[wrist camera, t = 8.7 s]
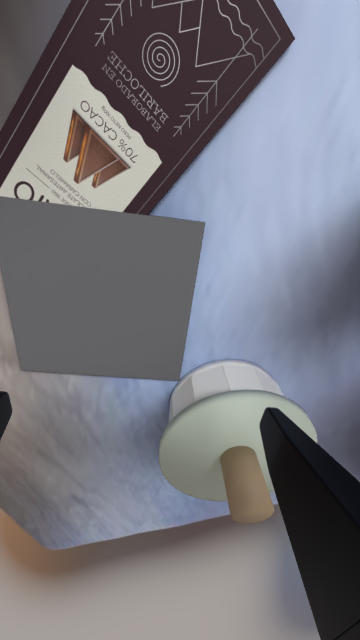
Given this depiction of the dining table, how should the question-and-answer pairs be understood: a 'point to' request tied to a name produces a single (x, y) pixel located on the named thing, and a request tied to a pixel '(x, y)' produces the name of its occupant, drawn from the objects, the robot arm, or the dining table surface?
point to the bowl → (219, 382)
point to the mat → (98, 288)
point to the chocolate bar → (133, 97)
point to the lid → (226, 450)
